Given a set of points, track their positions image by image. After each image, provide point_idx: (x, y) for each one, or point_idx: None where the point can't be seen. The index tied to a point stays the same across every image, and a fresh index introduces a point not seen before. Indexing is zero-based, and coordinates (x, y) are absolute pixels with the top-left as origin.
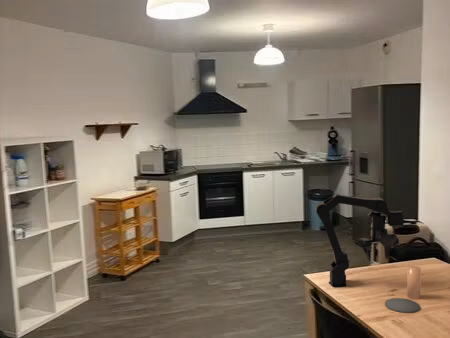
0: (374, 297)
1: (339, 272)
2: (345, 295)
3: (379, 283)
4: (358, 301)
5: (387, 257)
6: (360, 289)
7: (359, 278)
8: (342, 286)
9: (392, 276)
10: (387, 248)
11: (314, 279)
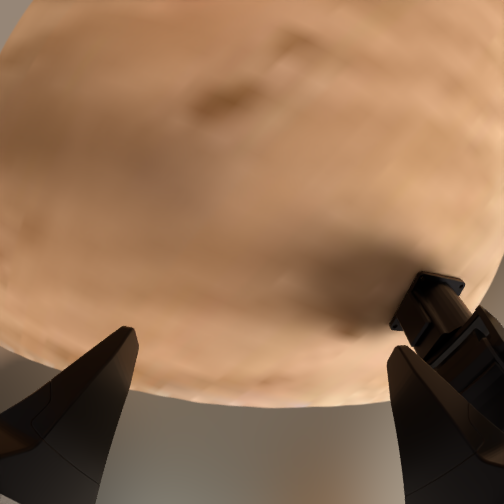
0: (419, 73)
1: (493, 319)
2: (495, 183)
3: (229, 234)
4: (498, 96)
5: (118, 337)
6: (400, 207)
7: (278, 331)
8: (436, 274)
9: (101, 285)
10: (69, 453)
11: None
